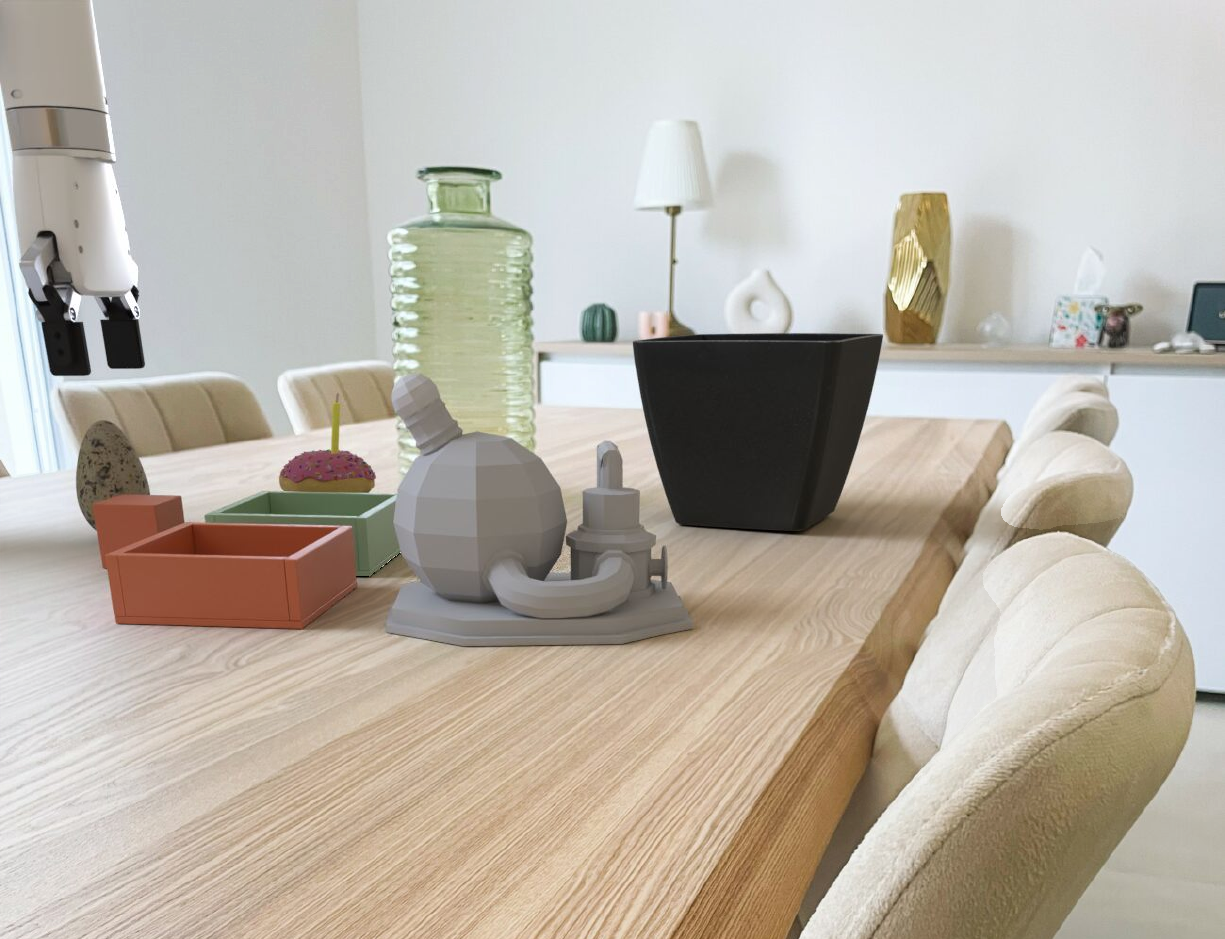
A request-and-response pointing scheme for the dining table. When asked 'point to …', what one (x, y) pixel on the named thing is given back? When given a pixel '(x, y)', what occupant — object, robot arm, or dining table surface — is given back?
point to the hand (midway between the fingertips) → (100, 371)
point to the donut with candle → (328, 468)
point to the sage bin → (325, 518)
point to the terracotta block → (134, 519)
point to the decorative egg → (107, 468)
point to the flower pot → (755, 423)
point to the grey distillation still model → (518, 543)
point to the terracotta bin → (232, 575)
